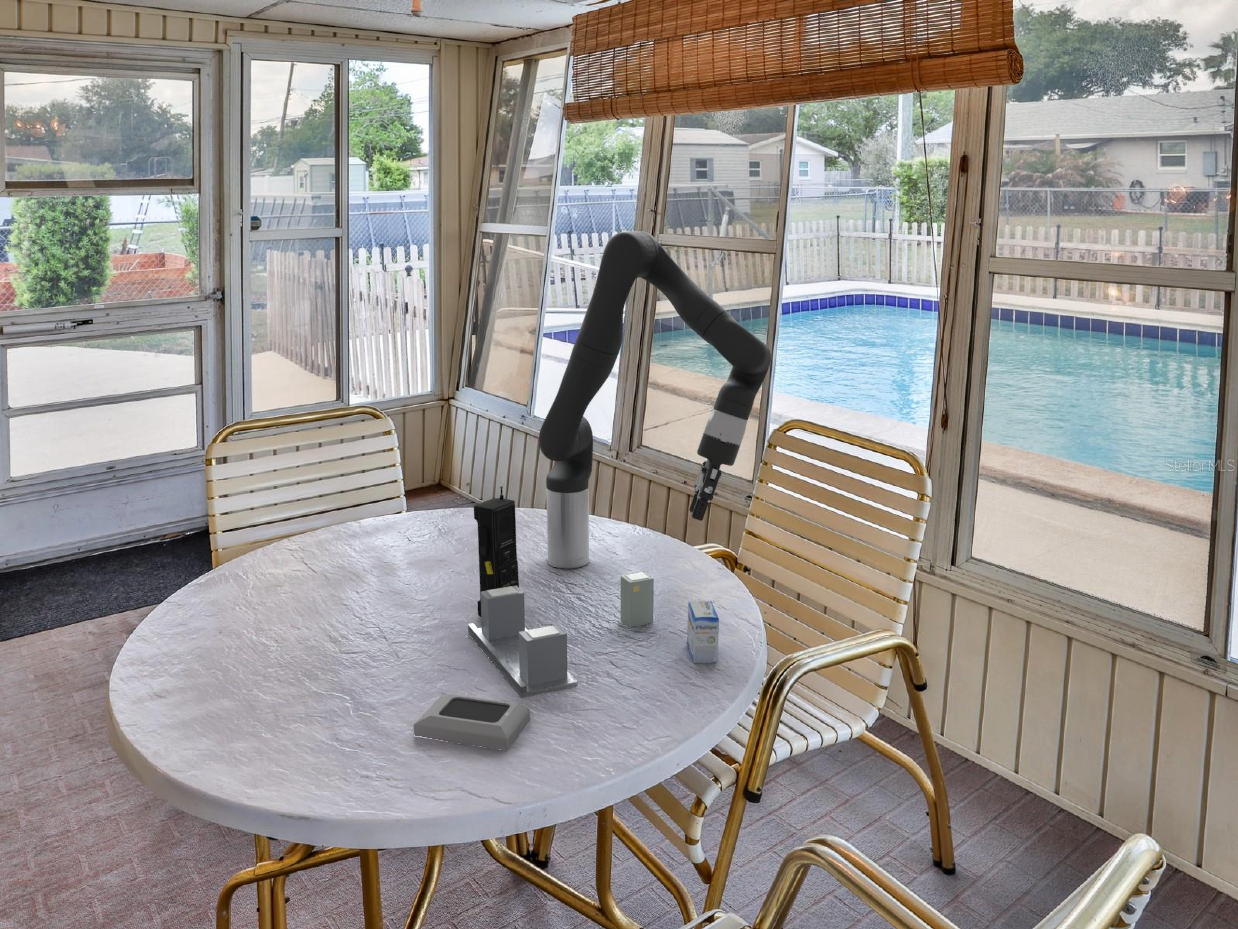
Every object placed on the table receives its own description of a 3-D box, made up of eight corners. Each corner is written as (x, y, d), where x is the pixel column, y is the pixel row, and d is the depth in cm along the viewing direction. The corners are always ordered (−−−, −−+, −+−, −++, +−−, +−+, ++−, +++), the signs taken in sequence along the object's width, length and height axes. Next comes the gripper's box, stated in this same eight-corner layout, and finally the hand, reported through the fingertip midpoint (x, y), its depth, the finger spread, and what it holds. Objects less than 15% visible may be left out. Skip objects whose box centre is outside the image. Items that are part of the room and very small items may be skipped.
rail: (468, 634, 191) (468, 624, 191) (519, 624, 196) (518, 615, 195) (521, 698, 167) (520, 687, 166) (577, 686, 171) (577, 675, 171)
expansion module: (620, 619, 198) (620, 574, 196) (643, 615, 200) (643, 570, 198) (629, 627, 195) (630, 581, 192) (653, 622, 197) (653, 577, 194)
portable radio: (498, 625, 195) (494, 499, 189) (473, 619, 198) (468, 494, 192) (523, 612, 202) (520, 489, 195) (499, 605, 205) (495, 484, 198)
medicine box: (686, 645, 187) (687, 600, 185) (710, 644, 187) (712, 599, 185) (693, 664, 179) (694, 617, 177) (718, 663, 180) (719, 616, 178)
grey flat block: (440, 688, 163) (529, 701, 159) (441, 710, 164) (530, 722, 160) (413, 717, 154) (506, 731, 150) (414, 739, 155) (507, 753, 151)
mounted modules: (481, 632, 190) (480, 590, 188) (517, 625, 193) (516, 584, 191) (528, 686, 169) (527, 640, 167) (567, 677, 172) (566, 632, 170)
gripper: (701, 428, 206) (675, 505, 208) (706, 433, 192) (678, 515, 193) (737, 440, 206) (710, 517, 208) (745, 446, 192) (716, 527, 194)
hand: (695, 516), depth 201 cm, fingers open, 8 cm apart
